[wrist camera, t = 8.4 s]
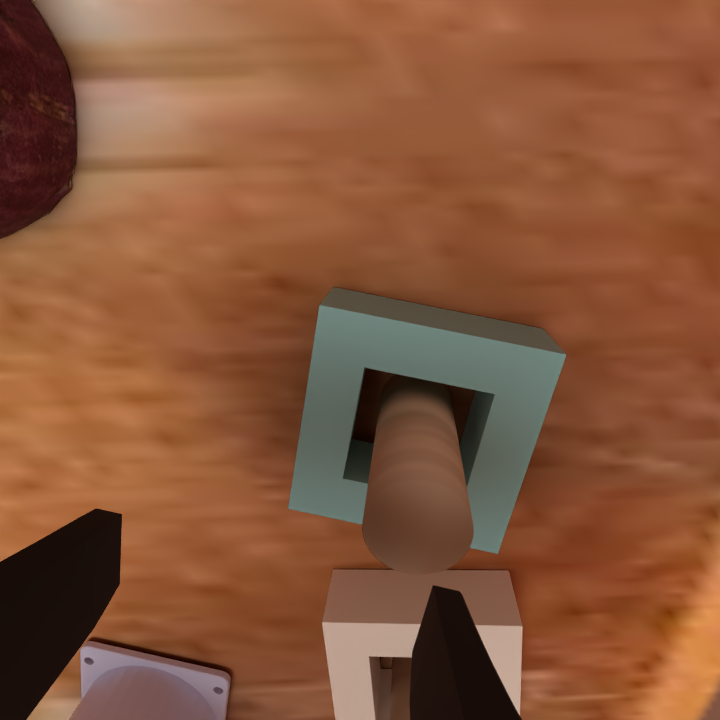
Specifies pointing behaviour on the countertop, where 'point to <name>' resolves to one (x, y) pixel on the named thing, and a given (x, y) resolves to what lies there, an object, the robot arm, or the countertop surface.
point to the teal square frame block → (433, 363)
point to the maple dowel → (417, 481)
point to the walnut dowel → (400, 688)
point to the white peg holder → (408, 630)
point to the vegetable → (32, 118)
